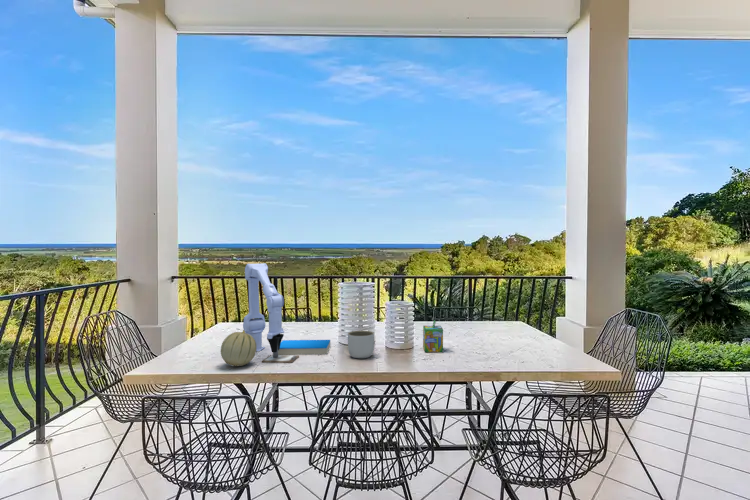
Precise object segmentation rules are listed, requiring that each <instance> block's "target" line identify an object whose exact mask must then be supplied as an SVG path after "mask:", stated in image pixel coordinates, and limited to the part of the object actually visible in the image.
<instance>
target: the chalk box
mask: <svg viewBox="0 0 750 500" xmlns="http://www.w3.org/2000/svg"><path fill="white" fill-rule="evenodd" d="M436 323H437V321H436V320H435V319H434V320H433V323H432V325H423V326H422V327H423V328H422V336H423V337H422V348H423V351H424V353H444V328H443V326H441V325H436Z"/></svg>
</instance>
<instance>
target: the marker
mask: <svg viewBox="0 0 750 500" xmlns="http://www.w3.org/2000/svg"><path fill="white" fill-rule="evenodd" d="M272 355H273V357H274V358H276V357H278V347H277V352H272Z"/></svg>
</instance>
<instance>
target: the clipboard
mask: <svg viewBox="0 0 750 500" xmlns="http://www.w3.org/2000/svg"><path fill="white" fill-rule="evenodd" d="M299 358H300V356H299V355H278V357H276V358H274V357H273V354H270V355H268V356H267V357H266V358H264V359H263V360H261V363H271V364H272V363H273V364H274V363H276V364H278V363H280V364H293V363H294V362H296V360H297V359H299Z"/></svg>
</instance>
